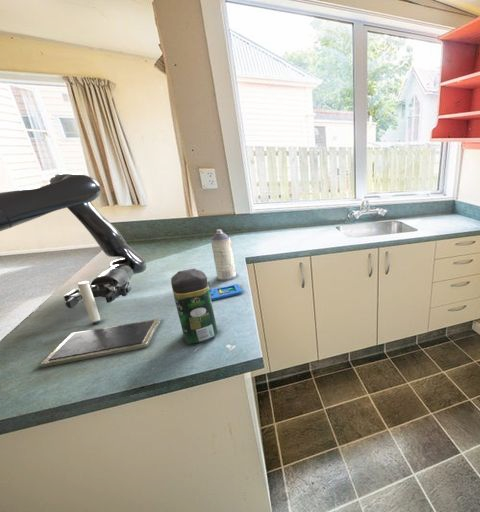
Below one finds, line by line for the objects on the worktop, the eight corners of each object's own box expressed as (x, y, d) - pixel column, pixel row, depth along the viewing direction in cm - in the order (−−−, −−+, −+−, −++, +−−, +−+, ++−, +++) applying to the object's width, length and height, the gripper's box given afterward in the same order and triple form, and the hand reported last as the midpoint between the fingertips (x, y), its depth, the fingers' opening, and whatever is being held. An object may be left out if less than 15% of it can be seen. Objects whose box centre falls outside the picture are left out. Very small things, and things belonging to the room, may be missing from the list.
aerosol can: (239, 276, 122) (232, 229, 116) (223, 281, 117) (215, 232, 111) (230, 273, 126) (222, 227, 120) (214, 278, 120) (205, 230, 114)
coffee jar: (182, 332, 83) (167, 270, 77) (213, 323, 88) (202, 264, 82) (186, 348, 76) (170, 282, 70) (220, 338, 80) (208, 274, 75)
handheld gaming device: (191, 292, 104) (237, 282, 113) (192, 295, 105) (237, 285, 113) (194, 301, 98) (242, 290, 107) (194, 304, 98) (242, 293, 107)
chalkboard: (41, 367, 68) (39, 363, 68) (72, 336, 81) (71, 332, 80) (147, 347, 76) (145, 343, 76) (160, 321, 88) (159, 317, 88)
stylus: (90, 325, 86) (75, 284, 82) (93, 322, 88) (79, 281, 83) (99, 324, 86) (86, 283, 82) (103, 320, 88) (89, 280, 84)
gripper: (79, 274, 95) (50, 294, 81) (134, 268, 100) (116, 286, 86) (86, 295, 97) (59, 319, 83) (140, 288, 102) (123, 309, 88)
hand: (88, 302), depth 84 cm, fingers open, 8 cm apart
